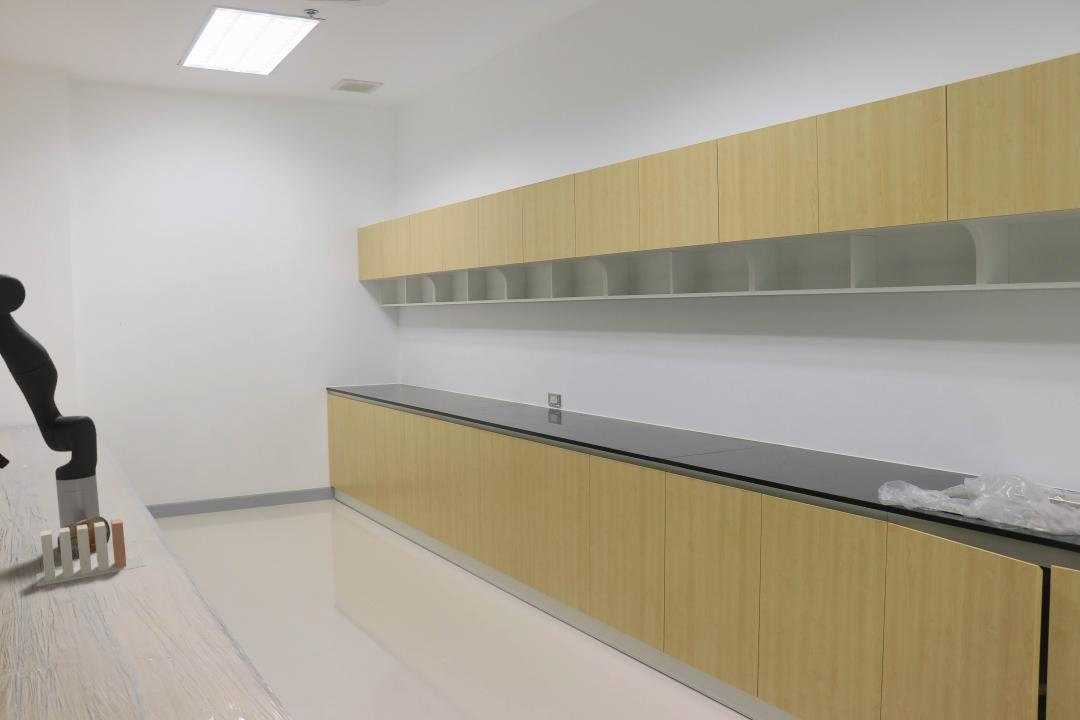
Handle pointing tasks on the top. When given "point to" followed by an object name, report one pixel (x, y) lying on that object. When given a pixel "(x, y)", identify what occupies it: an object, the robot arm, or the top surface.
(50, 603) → the top surface
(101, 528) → the domino
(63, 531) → the domino
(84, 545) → the domino
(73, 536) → the tin
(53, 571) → the domino
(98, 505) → the robot arm
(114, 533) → the domino
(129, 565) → the mat
